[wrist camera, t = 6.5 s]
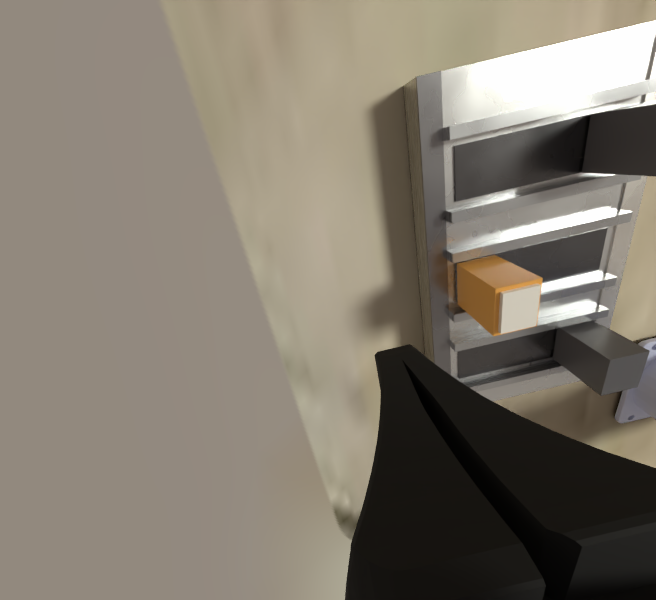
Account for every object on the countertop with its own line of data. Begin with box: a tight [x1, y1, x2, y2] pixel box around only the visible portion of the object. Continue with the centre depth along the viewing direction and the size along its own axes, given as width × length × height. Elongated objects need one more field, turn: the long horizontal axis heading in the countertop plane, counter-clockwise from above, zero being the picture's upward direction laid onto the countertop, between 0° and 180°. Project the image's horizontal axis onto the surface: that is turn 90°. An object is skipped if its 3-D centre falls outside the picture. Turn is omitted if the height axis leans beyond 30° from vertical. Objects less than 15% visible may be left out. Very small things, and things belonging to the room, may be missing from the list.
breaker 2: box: [553, 320, 650, 396], centre depth 17 cm, size 2×2×3 cm
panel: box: [404, 21, 656, 401], centre depth 16 cm, size 11×19×2 cm, turn 12°
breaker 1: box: [582, 100, 656, 176], centre depth 12 cm, size 2×2×3 cm
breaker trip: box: [457, 255, 543, 336], centre depth 14 cm, size 2×2×4 cm
